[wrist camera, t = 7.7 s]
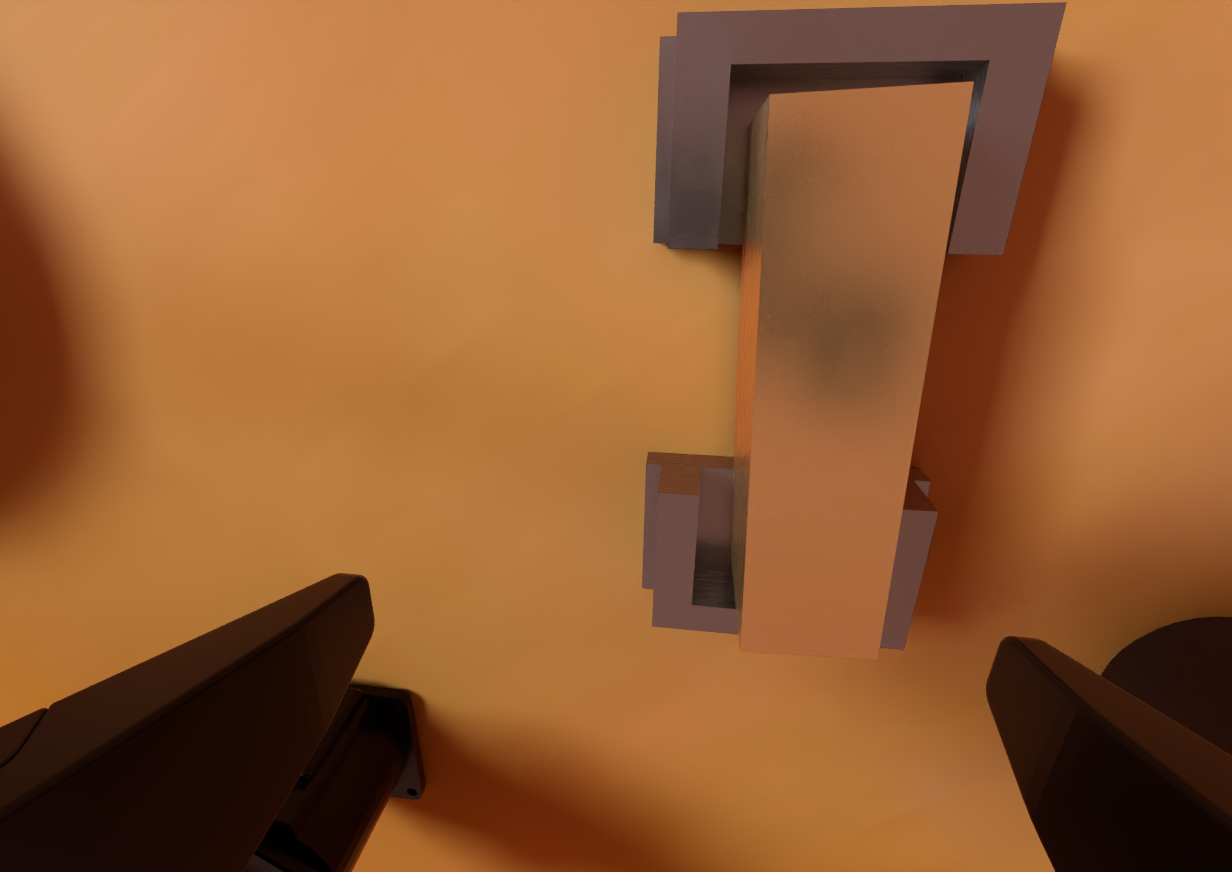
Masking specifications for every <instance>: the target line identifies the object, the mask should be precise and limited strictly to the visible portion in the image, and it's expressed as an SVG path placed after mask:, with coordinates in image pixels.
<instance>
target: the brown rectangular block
mask: <svg viewBox="0 0 1232 872" xmlns="http://www.w3.org/2000/svg"><path fill="white" fill-rule="evenodd" d="M973 85H974V81H972V82H957V83H941V84H925V85H909V86H894V87H878V88H862V89H846V90H831V91H815V92H799V93H783V94H770V95H769V97H768V98H767V100H766V101H765V102H764V104H763V105H762V107H761V108H760V110H759V111H758V112H757V114H756V115H755V117H754V118H753V120H752V121H751V122H750V124H749V125H748V127H747V150H746V174H745V198H744V222H743V246H742V270H741V294H740V318H739V342H738V366H737V390H736V414H735V438H734V462H733V486H732V510H731V534H730V555H731V565H732V575H733V585H734V594H735V604H736V614H737V624H738V634H739V644H740V652H752V653H769V654H785V655H802V656H819V657H836V658H852V659H869V660H878V655H879V649H880V643H881V637H882V631H883V625H884V619H885V613H886V607H887V601H888V595H889V589H890V583H891V577H892V571H893V565H894V559H895V553H896V547H897V541H898V535H899V529H900V523H901V517H902V511H903V505H904V499H905V493H906V487H907V481H908V475H909V469H910V463H911V457H912V451H913V445H914V439H915V433H916V427H917V421H918V415H919V409H920V403H921V397H922V391H923V385H924V379H925V373H926V367H927V361H928V355H929V349H930V343H931V337H932V331H933V325H934V319H935V313H936V307H937V301H938V295H939V289H940V283H941V277H942V271H943V265H944V259H945V253H946V247H947V241H948V235H949V229H950V223H951V217H952V211H953V205H954V199H955V193H956V187H957V181H958V175H959V169H960V163H961V157H962V151H963V145H964V139H965V133H966V127H967V121H968V115H969V109H970V103H971V97H972V91H973Z"/></svg>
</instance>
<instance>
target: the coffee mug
mask: <svg viewBox="0 0 1232 872" xmlns="http://www.w3.org/2000/svg"><path fill="white" fill-rule="evenodd" d="M1101 676H1102V677H1103V678H1105V679H1106V680H1108V681H1110V682H1111V683H1113V684H1115V685H1116V686H1118V687H1120V688H1121V689H1123V690H1125V691H1126V692H1128V693H1129V694H1131V695H1133V696H1134V697H1136V698H1138V699H1139V700H1141V701H1143V702H1144V703H1146V704H1148V705H1149V706H1151V707H1152V708H1154V709H1156V710H1157V711H1159V712H1161V713H1162V714H1164V715H1166V716H1167V717H1169V718H1170V719H1172V720H1174V721H1175V722H1177V723H1179V724H1180V725H1182V726H1184V727H1185V728H1187V729H1189V730H1190V731H1192V732H1193V733H1195V734H1197V735H1198V736H1200V737H1202V738H1203V739H1205V740H1207V741H1208V742H1210V743H1212V744H1213V745H1215V746H1216V747H1218V748H1220V749H1221V750H1223V751H1225V752H1226V753H1228V754H1230V755H1231V756H1232V618H1230V617H1208V618H1196V619H1191V620H1186V621H1182V622H1177V623H1173V624H1171V625H1168V626H1165V627H1162V628H1159V629H1156V630H1154V631H1152V632H1150V633H1148V634H1146V635H1144V636H1142V637H1140V638H1138V639H1137V640H1135V641H1134V642H1133V643H1131V644H1130V645H1128V646H1127V647H1125V648H1124V649H1123V650H1122V651H1121V652H1120V653H1119V654H1118V655H1117V656H1115V657H1114V658H1113V659H1112V660H1111V661H1110V663H1109V664H1108V666H1107V667H1106V669H1105V670H1104V672H1103V673H1102V675H1101Z"/></svg>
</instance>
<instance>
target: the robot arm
mask: <svg viewBox="0 0 1232 872" xmlns="http://www.w3.org/2000/svg"><path fill="white" fill-rule="evenodd" d="M374 622H375V621H374V613H373V607H372V600H371V594H370V588H369V583H368V581H367V579H366V578H365V577H364V576H362V575H355V574H345V573H338V574H335V575H332V576H330V577H328V578H326V579H324V580H321V581H319V582H317V583H315V584H313V585H310V586H308V587H306V588H304V589H302V590H300V591H297V592H295V593H293V594H291V595H289V596H286V597H284V598H282V599H280V600H278V601H276V602H273V603H271V604H269V605H267V606H265V607H262V608H260V609H258V610H256V611H254V612H252V613H249V614H247V615H245V616H243V617H241V618H238V619H236V620H234V621H232V622H230V623H228V624H225V625H223V626H221V627H219V628H217V629H214V630H212V631H210V632H208V633H206V634H204V635H201V636H199V637H197V638H195V639H193V640H190V641H188V642H186V643H184V644H182V645H179V646H177V647H175V648H173V649H171V650H169V651H166V652H164V653H162V654H160V655H158V656H155V657H153V658H151V659H149V660H147V661H145V662H142V663H140V664H138V665H136V666H134V667H131V668H129V669H127V670H125V671H123V672H121V673H118V674H116V675H114V676H112V677H110V678H107V679H105V680H103V681H101V682H99V683H97V684H94V685H92V686H90V687H88V688H86V689H83V690H81V691H79V692H77V693H75V694H73V695H70V696H68V697H66V698H64V699H62V700H59V701H57V702H55V703H53V704H52V705H51V706H50V707H49V709H47V708H42V709H39V710H37V711H35V712H33V713H31V714H29V715H26V716H24V717H22V718H20V719H18V720H16V721H13V722H11V723H9V724H7V725H5V726H2V727H0V872H352V870H353V868H354V866H355V864H356V862H357V860H358V858H359V856H360V854H361V852H362V850H363V849H364V847H365V845H366V843H367V841H368V839H369V837H370V835H371V833H372V831H373V829H374V827H375V825H376V823H377V821H378V819H379V817H380V815H381V813H382V811H383V810H384V808H385V806H386V804H387V802H388V800H389V798H390V796H391V797H399V798H406V799H419V798H420V797H421V796H422V794H423V792H424V790H425V780H424V774H423V768H422V761H421V755H420V749H419V743H418V737H417V731H416V725H415V719H414V713H413V707H412V700H411V698H410V696H409V695H408V694H407V693H405V692H403V691H398V690H389V689H380V688H371V687H362V686H353V685H349V684H350V681H351V679H352V677H353V675H354V673H355V671H356V669H357V667H358V665H359V662H360V660H361V658H362V656H363V654H364V652H365V650H366V648H367V645H368V643H369V641H370V639H371V637H372V634H373V631H374ZM986 695H987V700H988V703H989V706H990V709H991V712H992V715H993V717H994V720H995V723H996V726H997V728H998V731H999V734H1000V737H1001V739H1002V742H1003V745H1004V748H1005V750H1006V753H1007V756H1008V759H1009V762H1010V764H1011V767H1012V770H1013V773H1014V775H1015V778H1016V781H1017V784H1018V786H1019V789H1020V792H1021V795H1022V798H1023V800H1024V803H1025V805H1026V808H1027V810H1028V813H1029V815H1030V818H1031V820H1032V822H1033V825H1034V827H1035V829H1036V831H1037V834H1038V836H1039V838H1040V840H1041V842H1042V844H1043V847H1044V849H1045V851H1046V853H1047V855H1048V857H1049V859H1050V861H1051V863H1052V866H1053V868H1054V870H1055V872H1232V756H1231V755H1230V754H1228V753H1226V752H1225V751H1223V750H1221V749H1220V748H1218V747H1216V746H1215V745H1213V744H1212V743H1210V742H1208V741H1207V740H1205V739H1203V738H1202V737H1200V736H1198V735H1197V734H1195V733H1193V732H1192V731H1190V730H1189V729H1187V728H1185V727H1184V726H1182V725H1180V724H1179V723H1177V722H1175V721H1174V720H1172V719H1170V718H1169V717H1167V716H1166V715H1164V714H1162V713H1161V712H1159V711H1157V710H1156V709H1154V708H1152V707H1151V706H1149V705H1148V704H1146V703H1144V702H1143V701H1141V700H1139V699H1138V698H1136V697H1134V696H1133V695H1131V694H1129V693H1128V692H1126V691H1125V690H1123V689H1121V688H1120V687H1118V686H1116V685H1115V684H1113V683H1111V682H1110V681H1108V680H1106V679H1105V678H1103V677H1102V676H1100V675H1098V674H1097V673H1095V672H1093V671H1092V670H1090V669H1088V668H1087V667H1085V666H1083V665H1082V664H1080V663H1079V662H1077V661H1075V660H1074V659H1072V658H1070V657H1069V656H1067V655H1065V654H1064V653H1062V652H1061V651H1059V650H1057V649H1056V648H1054V647H1052V646H1051V645H1049V644H1047V643H1046V642H1044V641H1042V640H1039V639H1035V638H1025V637H1014V636H1009V637H1006V638H1004V639H1003V640H1002V641H1001V643H1000V645H999V647H998V650H997V653H996V656H995V659H994V662H993V665H992V668H991V671H990V674H989V677H988V680H987V684H986Z"/></svg>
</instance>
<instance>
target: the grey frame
mask: <svg viewBox="0 0 1232 872" xmlns="http://www.w3.org/2000/svg"><path fill="white" fill-rule="evenodd" d="M1066 3H1067V2H1063V3H1025V4H987V5H949V6H910V7H872V8H834V9H795V10H757V11H719V12H681V13H678V17H677V36H670V37H660V57H659V88H658V119H657V149H656V180H655V211H654V241H653V243H668V249H715V250H718V244H731V245H743V222H744V198H745V174H746V150H747V127H748V125H749V124H750V122H751V121H752V120H753V118H754V117H755V115H756V114H757V112H758V111H759V110H760V108H761V107H762V105H763V104H764V102H765V101H766V100H767V98H768V97H769V95H770V94H783V93H799V92H815V91H831V90H846V89H862V88H878V87H894V86H909V85H925V84H941V83H957V82H972V81H974V85H973V91H972V97H971V103H970V109H969V115H968V121H967V127H966V133H965V139H964V145H963V151H962V157H961V163H960V169H959V175H958V181H957V187H956V193H955V199H954V205H953V211H952V217H951V223H950V229H949V235H948V241H947V247H946V253H945V254H968V255H1003V254H1004V250H1005V246H1006V242H1007V238H1008V234H1009V230H1010V226H1011V222H1012V218H1013V214H1014V210H1015V206H1016V202H1017V198H1018V194H1019V190H1020V186H1021V182H1022V178H1023V174H1024V170H1025V166H1026V162H1027V158H1028V154H1029V150H1030V146H1031V142H1032V138H1033V134H1034V130H1035V126H1036V122H1037V118H1038V114H1039V110H1040V106H1041V102H1042V98H1043V94H1044V90H1045V86H1046V83H1047V79H1048V75H1049V71H1050V67H1051V63H1052V59H1053V55H1054V51H1055V47H1056V43H1057V39H1058V35H1059V31H1060V27H1061V23H1062V19H1063V15H1064V11H1065V7H1066ZM733 462H734V457H722V456H705V455H688V454H672V453H655V452H648V457H647V463H646V487H645V518H644V548H643V579H642V588H646V589H654V594H653V618H652V626H653V627H664V628H675V629H685V630H696V631H707V632H717V633H728V634H738V624H737V614H736V604H735V594H734V585H733V575H732V565H731V555H730V534H731V510H732V486H733ZM930 483H931V481H930V480H929V479H928V478H927V477H926V475H925V474H924V473H923V472H922V471H921V470H920V468H910V469H909V475H908V481H907V487H906V493H905V499H904V505H903V511H902V517H901V523H900V529H899V535H898V541H897V547H896V553H895V559H894V565H893V571H892V577H891V583H890V589H889V595H888V601H887V607H886V613H885V619H884V625H883V631H882V637H881V643H880V648H888V649H899V650H904V648H905V644H906V640H907V636H908V632H909V628H910V624H911V620H912V616H913V612H914V608H915V604H916V600H917V596H918V592H919V588H920V584H921V580H922V576H923V572H924V568H925V564H926V560H927V556H928V552H929V548H930V544H931V540H932V536H933V532H934V528H935V524H936V520H937V516H938V510H937V509H936V508H935V507H934V505H933V504H932V503H931V501H930V500H929V499H928V498H927V495H928V491H929V487H930Z"/></svg>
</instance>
